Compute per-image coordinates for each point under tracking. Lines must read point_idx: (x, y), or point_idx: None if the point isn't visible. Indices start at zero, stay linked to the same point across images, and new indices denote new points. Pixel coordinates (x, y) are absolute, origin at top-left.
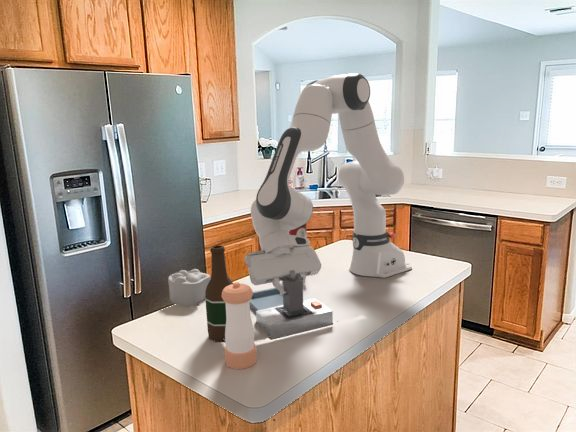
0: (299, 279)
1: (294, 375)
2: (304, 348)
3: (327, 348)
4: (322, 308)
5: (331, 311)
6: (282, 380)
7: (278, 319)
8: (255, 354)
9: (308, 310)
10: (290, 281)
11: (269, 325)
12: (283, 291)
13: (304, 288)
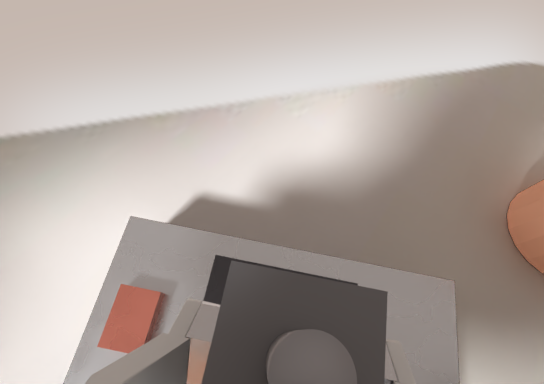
0: (231, 316)
1: (437, 92)
2: (345, 170)
3: (288, 131)
4: (140, 269)
5: (136, 218)
6: (472, 93)
7: (394, 309)
8: (534, 187)
9: (214, 290)
10: (345, 330)
11: (452, 289)
12: (392, 347)
13: (201, 302)
